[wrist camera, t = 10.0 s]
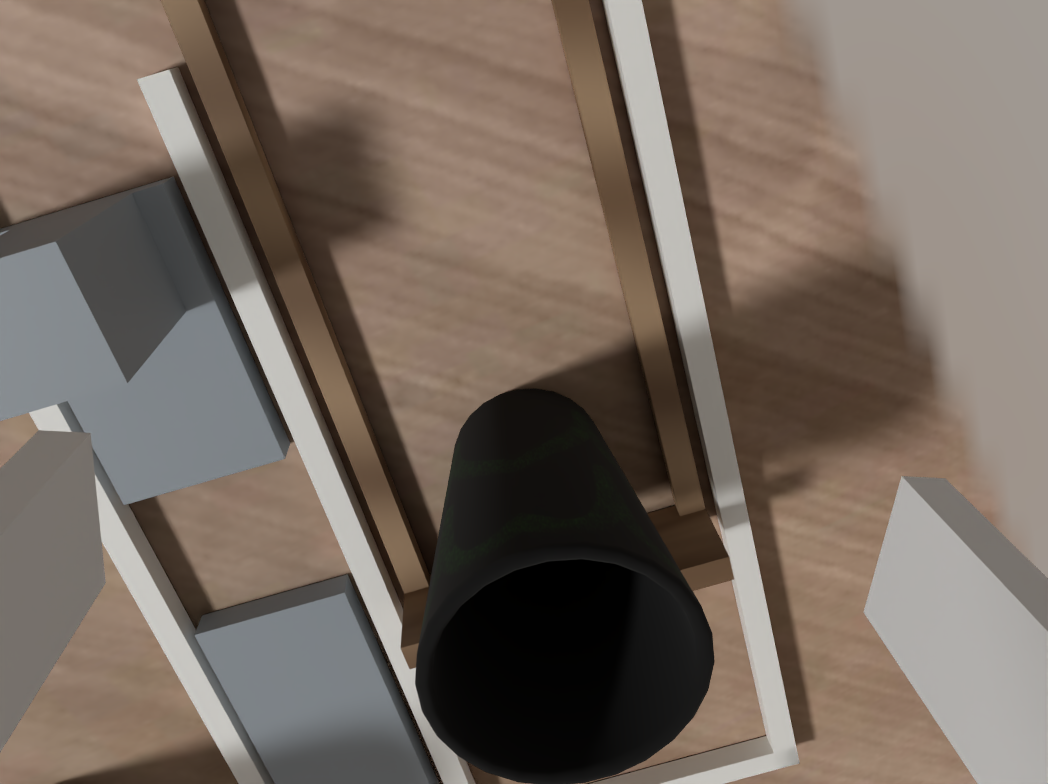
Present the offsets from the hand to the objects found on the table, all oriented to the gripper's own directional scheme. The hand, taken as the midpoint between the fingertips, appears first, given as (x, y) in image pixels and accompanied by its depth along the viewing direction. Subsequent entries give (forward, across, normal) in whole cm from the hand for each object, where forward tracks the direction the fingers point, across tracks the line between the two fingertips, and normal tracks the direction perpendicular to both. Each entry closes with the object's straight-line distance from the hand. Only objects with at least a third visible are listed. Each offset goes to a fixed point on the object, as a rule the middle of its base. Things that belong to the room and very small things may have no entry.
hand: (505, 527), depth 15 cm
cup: (+18, +2, -7) cm, 19 cm away
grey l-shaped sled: (+17, -11, -4) cm, 21 cm away
